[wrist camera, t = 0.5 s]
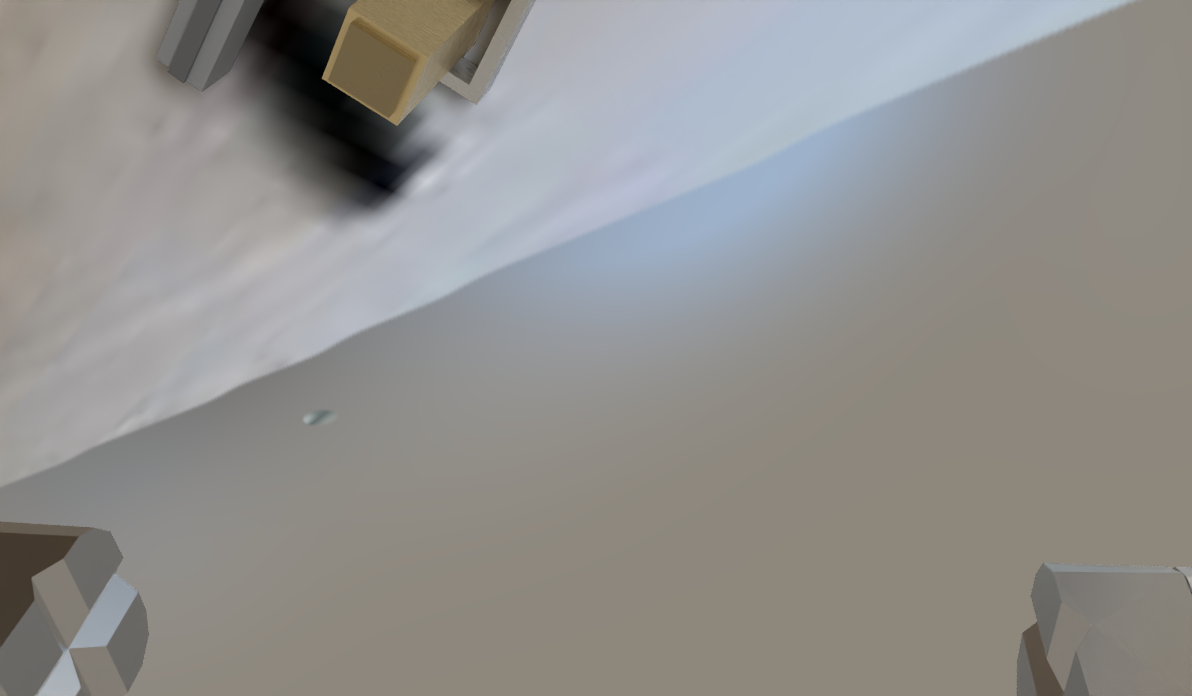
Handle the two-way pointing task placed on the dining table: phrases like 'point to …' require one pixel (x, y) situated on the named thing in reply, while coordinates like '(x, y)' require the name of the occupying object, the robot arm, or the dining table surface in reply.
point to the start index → (488, 56)
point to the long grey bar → (206, 38)
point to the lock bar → (401, 49)
